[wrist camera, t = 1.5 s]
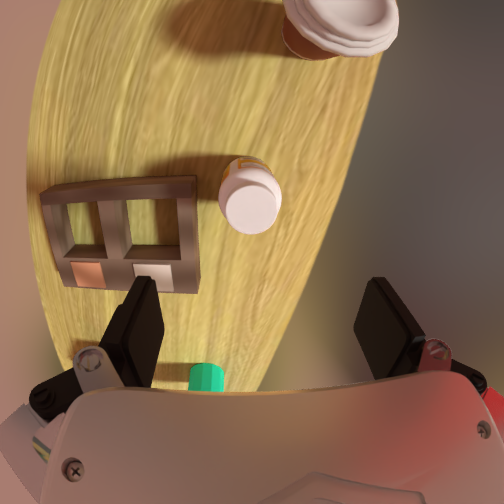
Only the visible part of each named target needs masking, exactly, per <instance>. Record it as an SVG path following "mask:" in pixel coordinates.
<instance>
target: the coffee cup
mask: <svg viewBox="0 0 504 504" xmlns="http://www.w3.org/2000/svg"><path fill="white" fill-rule="evenodd" d="M282 1H283V5H284V8H285V11H286V16H285V20H284V22H283V26H282V30H281V34H282V38H283V41H284V43H285V45H286V46H287V47H288V48H289V50H290V51H291V52H293V53H294V54H296V55H297V56H299V57H300V58H303V59H307V60H310V61H320V60H325V59H329V58H332V57H336V56H340V55H341V56H343V57H369V56H372V55H374V54H376V53H379V52H381V51H384V50H386V49H387V48H388V47H389V46H390V44H391V43H392V42H393V40H394V39H395V38H396V37H397V32H398V24H399V17H398V9H397V6H396V3H395V0H282Z"/></svg>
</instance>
